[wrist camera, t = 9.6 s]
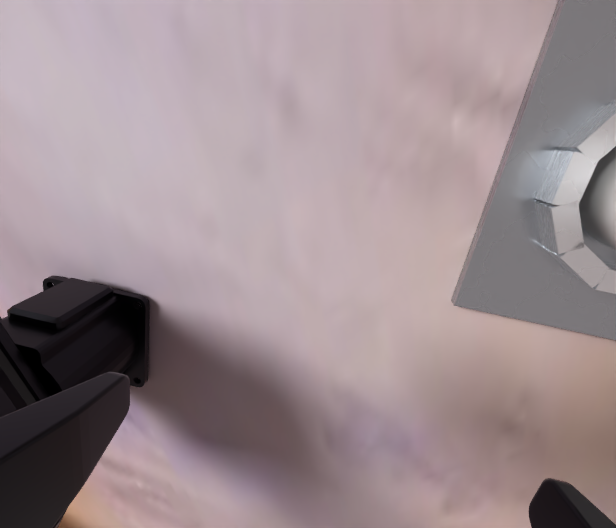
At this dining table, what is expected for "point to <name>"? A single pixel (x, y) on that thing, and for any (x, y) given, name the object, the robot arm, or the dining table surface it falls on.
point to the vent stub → (601, 202)
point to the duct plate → (552, 187)
